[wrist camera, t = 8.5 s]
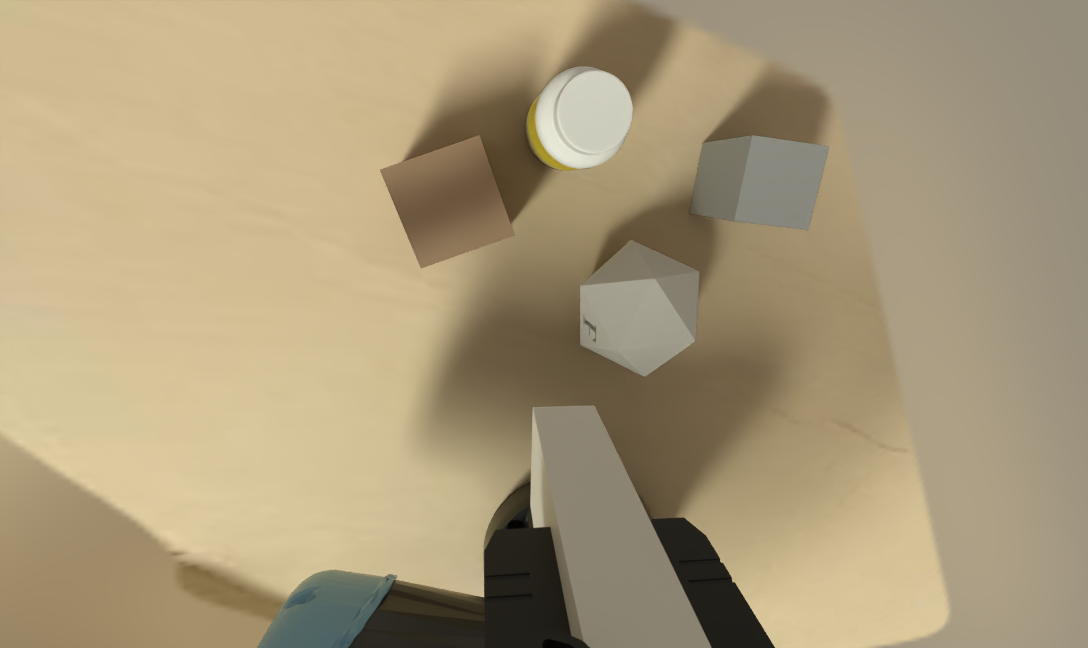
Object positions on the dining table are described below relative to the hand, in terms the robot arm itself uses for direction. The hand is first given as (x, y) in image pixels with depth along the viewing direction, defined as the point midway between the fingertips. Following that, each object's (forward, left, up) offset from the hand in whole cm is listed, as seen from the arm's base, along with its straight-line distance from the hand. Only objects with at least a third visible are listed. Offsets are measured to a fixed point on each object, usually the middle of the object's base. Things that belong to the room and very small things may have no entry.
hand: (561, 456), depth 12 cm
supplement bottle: (+10, -5, -26) cm, 28 cm away
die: (-3, -9, -26) cm, 28 cm away
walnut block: (+5, +3, -26) cm, 27 cm away
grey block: (+5, -17, -26) cm, 31 cm away
